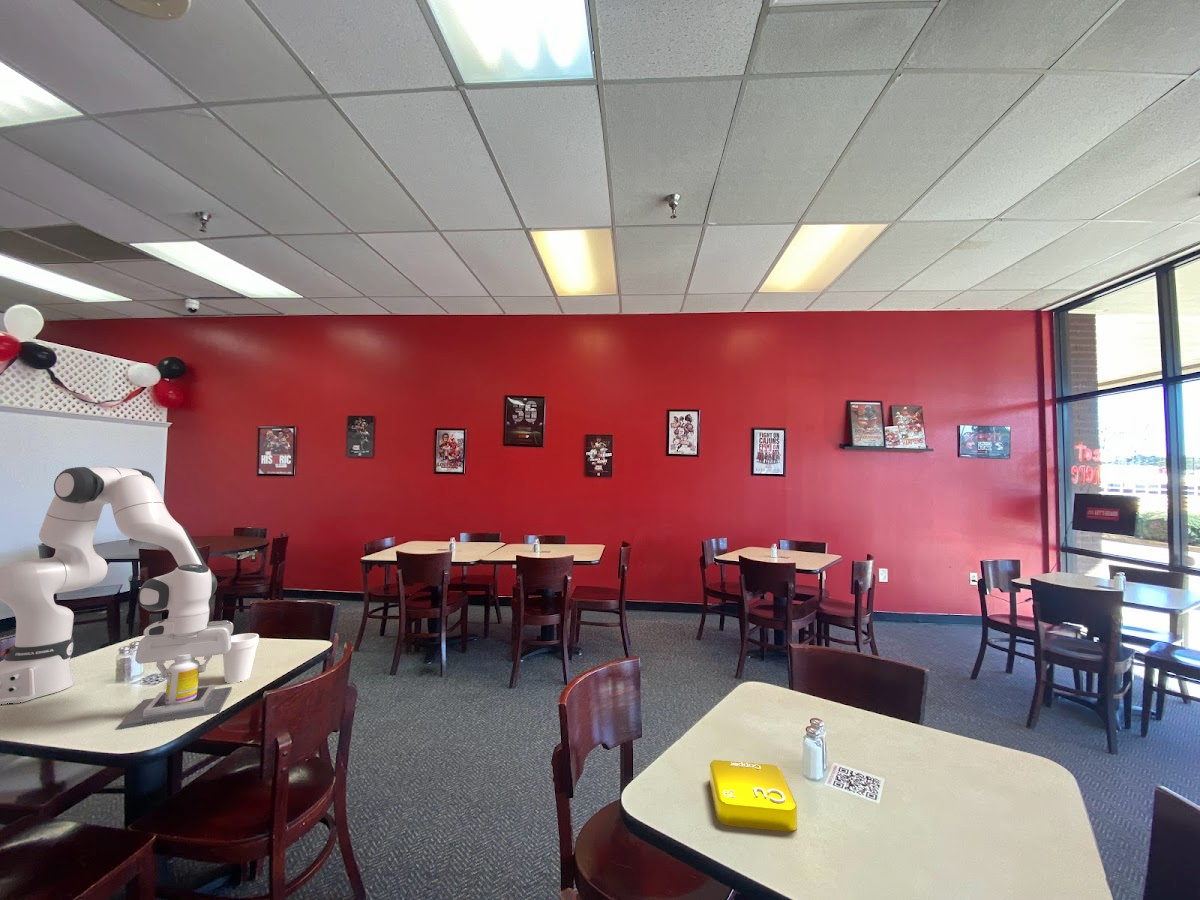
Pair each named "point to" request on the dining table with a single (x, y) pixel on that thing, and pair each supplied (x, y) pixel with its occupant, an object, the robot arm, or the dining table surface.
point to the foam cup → (240, 657)
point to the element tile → (752, 796)
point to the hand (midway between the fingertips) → (183, 674)
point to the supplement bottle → (182, 680)
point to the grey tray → (177, 707)
